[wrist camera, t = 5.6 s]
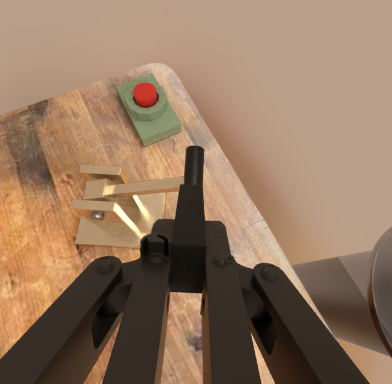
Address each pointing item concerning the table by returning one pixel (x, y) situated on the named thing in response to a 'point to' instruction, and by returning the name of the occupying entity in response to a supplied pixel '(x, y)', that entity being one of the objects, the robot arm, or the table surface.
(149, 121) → the control pad
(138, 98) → the stop button
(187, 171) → the lever
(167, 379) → the table surface
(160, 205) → the power switch
